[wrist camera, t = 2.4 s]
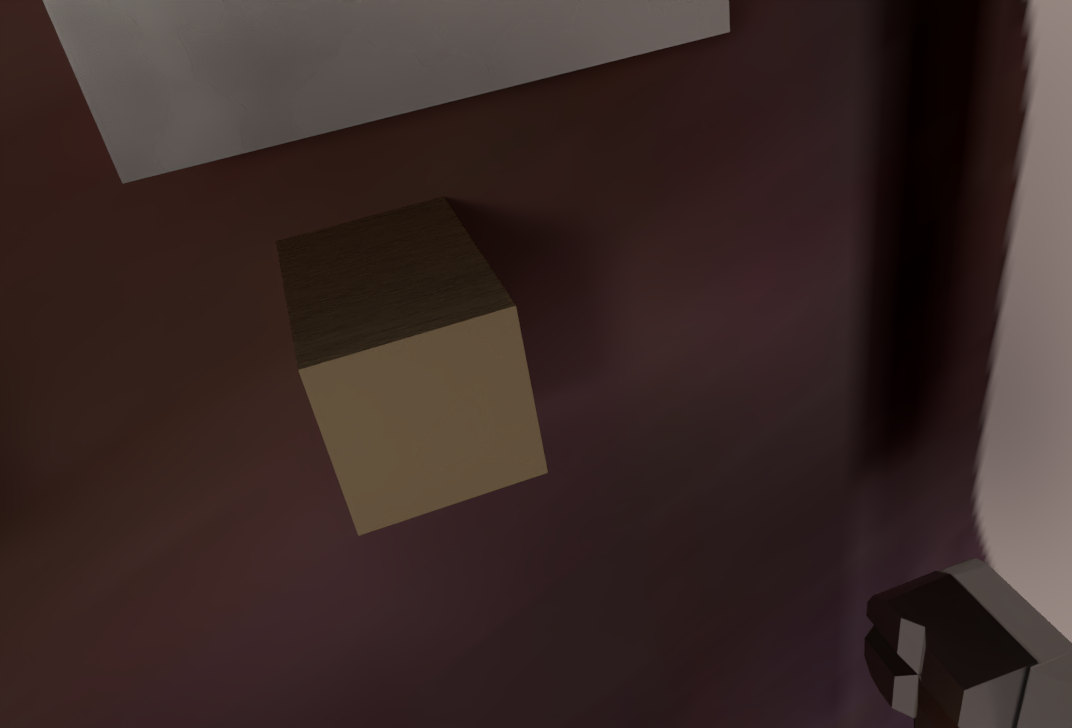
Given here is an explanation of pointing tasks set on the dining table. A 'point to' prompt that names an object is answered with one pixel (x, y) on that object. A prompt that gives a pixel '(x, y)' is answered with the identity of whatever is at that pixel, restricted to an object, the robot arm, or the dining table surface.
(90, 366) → the dining table surface
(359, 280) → the tan block
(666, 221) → the dining table surface
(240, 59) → the grey rectangular board
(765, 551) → the dining table surface
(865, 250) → the dining table surface
